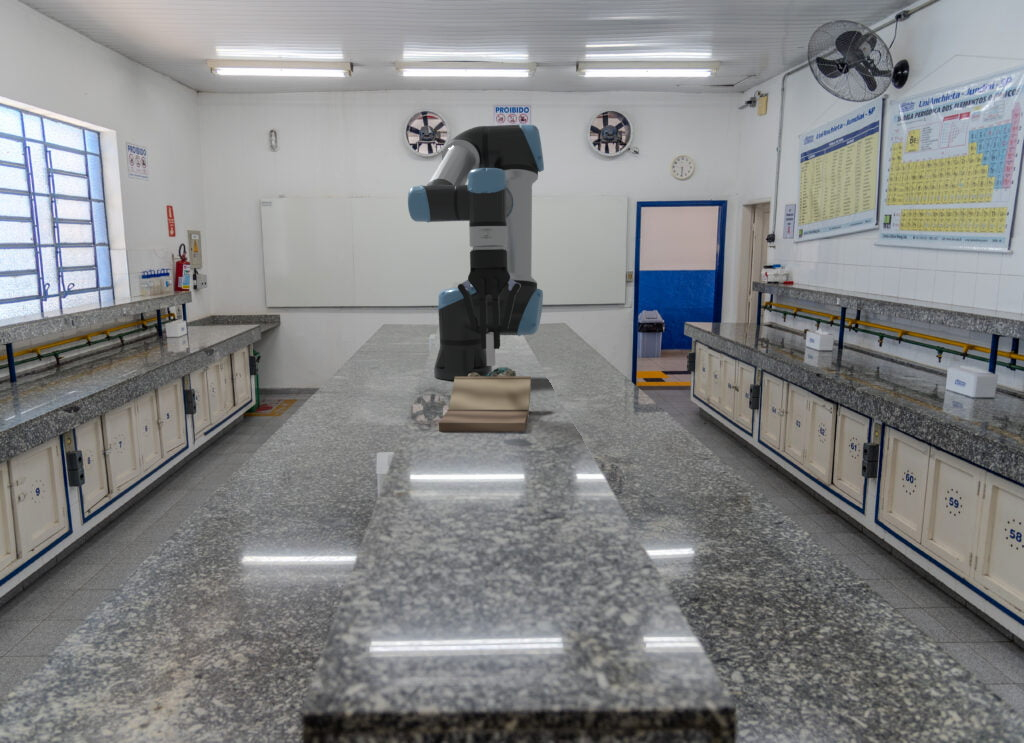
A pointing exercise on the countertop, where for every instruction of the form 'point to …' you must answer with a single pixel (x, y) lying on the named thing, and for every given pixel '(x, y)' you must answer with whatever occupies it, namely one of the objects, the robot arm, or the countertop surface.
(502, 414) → the floor board
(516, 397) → the board
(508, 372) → the mineral specimen
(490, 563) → the countertop surface
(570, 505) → the countertop surface
